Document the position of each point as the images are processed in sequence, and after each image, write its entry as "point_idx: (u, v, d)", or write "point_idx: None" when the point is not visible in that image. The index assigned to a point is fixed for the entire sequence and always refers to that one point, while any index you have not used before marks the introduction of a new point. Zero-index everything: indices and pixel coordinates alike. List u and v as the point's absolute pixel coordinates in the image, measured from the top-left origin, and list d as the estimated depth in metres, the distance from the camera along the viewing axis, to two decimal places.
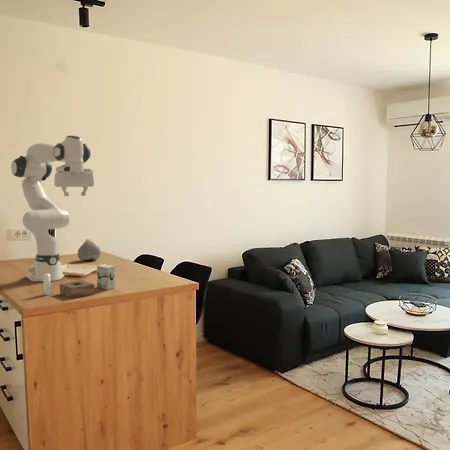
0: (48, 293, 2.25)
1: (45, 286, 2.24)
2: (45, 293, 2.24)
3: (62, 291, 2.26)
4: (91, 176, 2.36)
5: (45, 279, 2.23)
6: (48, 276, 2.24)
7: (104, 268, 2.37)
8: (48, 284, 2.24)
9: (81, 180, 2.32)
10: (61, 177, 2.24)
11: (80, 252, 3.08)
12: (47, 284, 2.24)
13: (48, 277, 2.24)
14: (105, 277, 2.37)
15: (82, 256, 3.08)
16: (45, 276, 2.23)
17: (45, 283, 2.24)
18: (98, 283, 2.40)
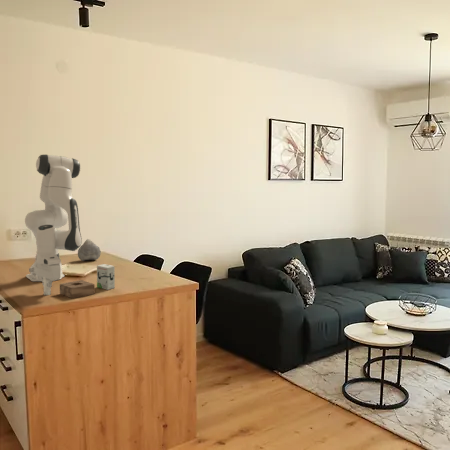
0: (48, 293, 2.25)
1: (45, 286, 2.24)
2: (45, 293, 2.24)
3: (62, 291, 2.26)
4: None
5: (45, 279, 2.23)
6: None
7: (104, 268, 2.37)
8: None
9: None
10: None
11: (80, 252, 3.08)
12: None
13: None
14: (105, 277, 2.37)
15: (82, 256, 3.08)
16: None
17: (45, 283, 2.24)
18: (98, 283, 2.40)
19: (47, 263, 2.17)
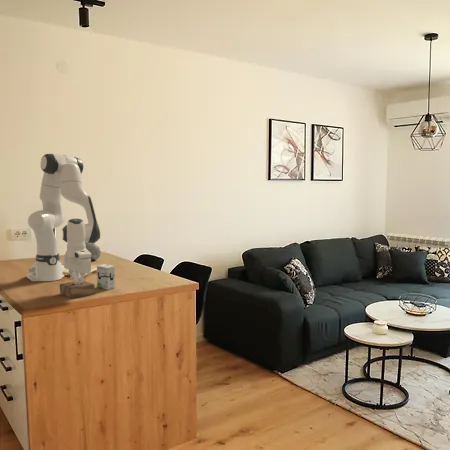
0: None
1: (75, 281, 2.26)
2: None
3: (62, 291, 2.26)
4: None
5: (75, 275, 2.25)
6: (78, 272, 2.26)
7: (104, 268, 2.37)
8: (78, 279, 2.26)
9: None
10: None
11: None
12: (77, 279, 2.26)
13: (78, 273, 2.26)
14: (105, 277, 2.37)
15: None
16: (75, 272, 2.25)
17: (75, 279, 2.25)
18: (98, 283, 2.40)
19: (78, 257, 2.18)
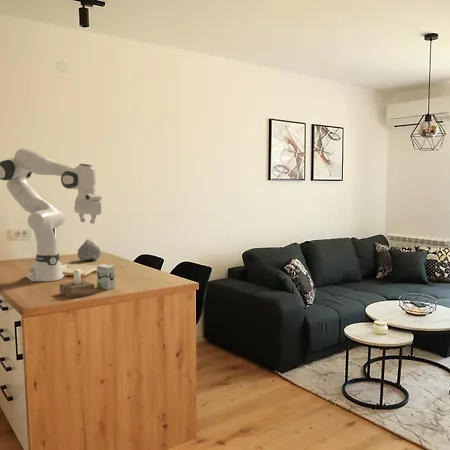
0: None
1: (75, 281, 2.26)
2: None
3: (62, 291, 2.26)
4: None
5: (76, 274, 2.25)
6: (78, 271, 2.26)
7: (104, 268, 2.37)
8: (78, 279, 2.26)
9: None
10: None
11: (80, 252, 3.08)
12: (77, 279, 2.26)
13: (78, 272, 2.26)
14: (105, 277, 2.37)
15: (82, 256, 3.08)
16: (76, 271, 2.25)
17: (75, 278, 2.26)
18: (98, 283, 2.40)
19: (89, 198, 2.29)
